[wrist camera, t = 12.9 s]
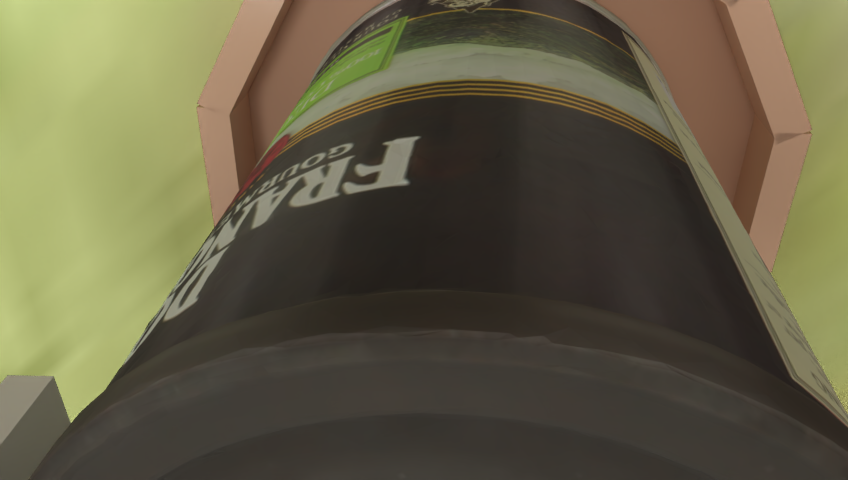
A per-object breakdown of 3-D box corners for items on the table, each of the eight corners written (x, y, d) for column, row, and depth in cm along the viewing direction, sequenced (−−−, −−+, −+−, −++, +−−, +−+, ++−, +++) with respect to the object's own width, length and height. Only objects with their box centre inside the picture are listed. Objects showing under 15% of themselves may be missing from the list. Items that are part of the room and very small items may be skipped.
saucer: (397, 416, 26) (389, 465, 24) (123, 46, 20) (84, 72, 18) (837, 258, 21) (869, 303, 20) (649, -283, 15) (670, -294, 14)
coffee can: (224, 178, 21) (-149, 685, 9) (471, -130, 17) (386, 57, 5) (493, 378, 24) (482, 971, 12) (766, 160, 19) (1201, 754, 7)
